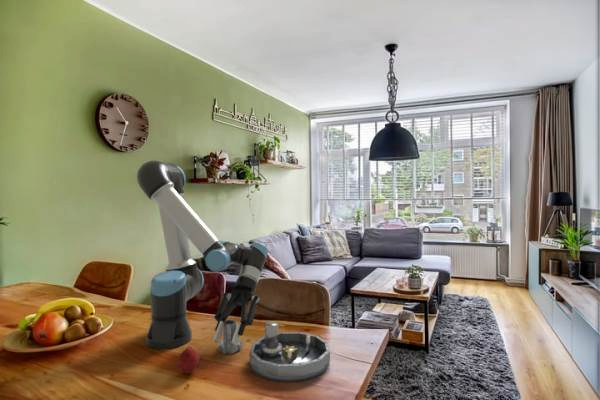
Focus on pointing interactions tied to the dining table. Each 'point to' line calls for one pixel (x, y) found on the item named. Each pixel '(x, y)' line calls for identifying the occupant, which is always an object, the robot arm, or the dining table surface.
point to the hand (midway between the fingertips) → (224, 343)
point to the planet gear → (229, 338)
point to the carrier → (289, 355)
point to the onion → (188, 360)
